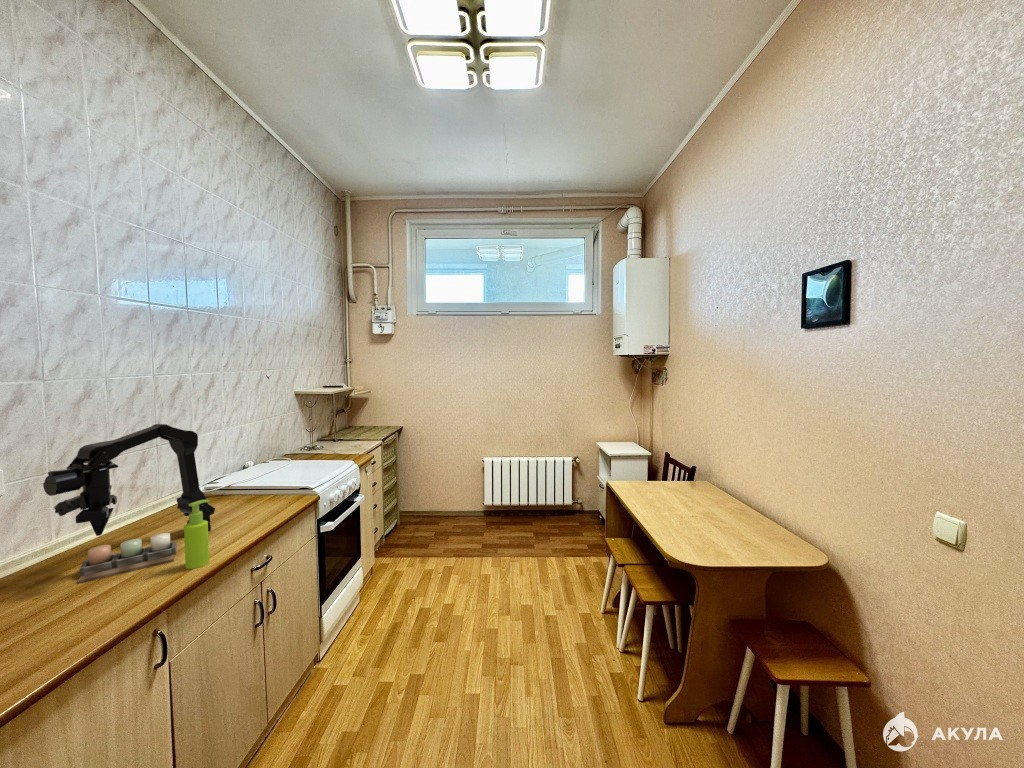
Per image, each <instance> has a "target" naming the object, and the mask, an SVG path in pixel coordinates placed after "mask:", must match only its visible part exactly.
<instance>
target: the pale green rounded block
mask: <svg viewBox="0 0 1024 768" xmlns="http://www.w3.org/2000/svg"><path fill="white" fill-rule="evenodd" d="M142 544H143V543H142V538H133V539H128V540H126V541H123V542H121V543H120V553H121V557H122V558H128V557H133V556H136V555H138V554H140V553H142V548H143V547H142V546H143V545H142Z"/></svg>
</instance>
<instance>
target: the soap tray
mask: <svg viewBox="0 0 1024 768" xmlns="http://www.w3.org/2000/svg"><path fill="white" fill-rule="evenodd" d="M177 542H178V541H177V540H175V541H173V540H172V541H170V547H169V548H167V549H164V550H160V551H151V545H150V546H146V547H145V546H143V547H142V553H140V554H138V555H136V556H133V557H128V558H122V557H121V552H118V553H111V559H110V560H109V561H107V562H104V563H100V564H96V565H89V559H85V560H84V561H83V563H82V564H81V566H80V567H79V579H78V580H77V582H78V583H77V584H83V583H87V582H92V581H96V580H100V579H104V578H108V577H113V576H117V575H121V574H125V573H131V572H134V571H137V570H143V569H148V568H151V567H155V566H160V565H163V564H168V563H173V562H174V561H175V556H176V554H177V548H178V546H177V545H178V544H177Z"/></svg>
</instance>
